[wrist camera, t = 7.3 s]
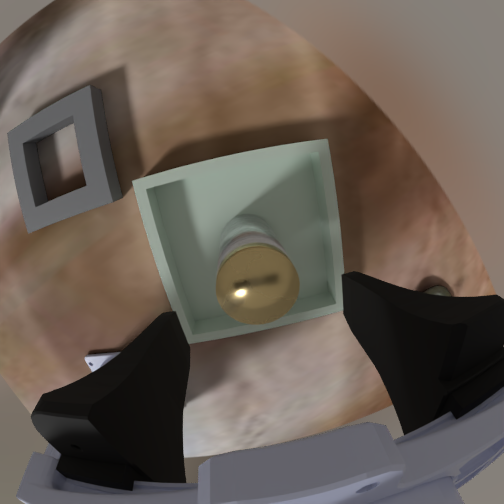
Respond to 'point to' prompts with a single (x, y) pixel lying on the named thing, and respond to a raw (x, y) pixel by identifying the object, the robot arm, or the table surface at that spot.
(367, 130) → the table surface
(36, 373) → the table surface
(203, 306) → the tray
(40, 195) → the holder
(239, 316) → the pin
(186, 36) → the table surface
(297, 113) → the table surface
